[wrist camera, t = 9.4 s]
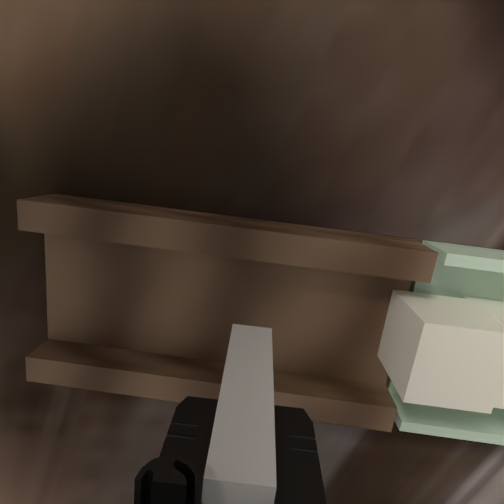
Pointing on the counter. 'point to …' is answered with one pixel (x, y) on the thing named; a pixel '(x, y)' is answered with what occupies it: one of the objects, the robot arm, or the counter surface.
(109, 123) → the counter surface
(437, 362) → the pale grey cube
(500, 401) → the white cube
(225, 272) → the slot board
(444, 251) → the tray
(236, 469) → the robot arm
